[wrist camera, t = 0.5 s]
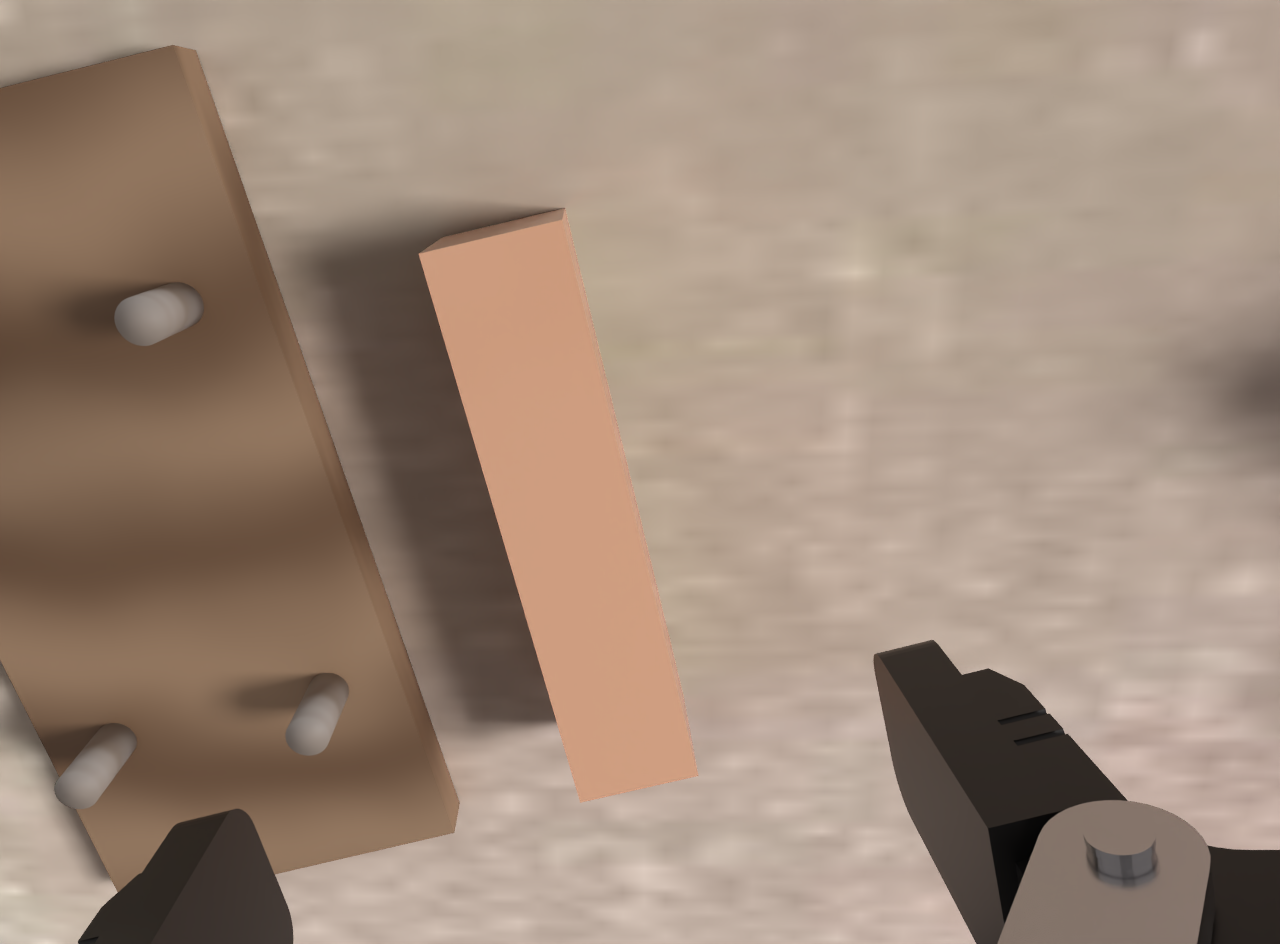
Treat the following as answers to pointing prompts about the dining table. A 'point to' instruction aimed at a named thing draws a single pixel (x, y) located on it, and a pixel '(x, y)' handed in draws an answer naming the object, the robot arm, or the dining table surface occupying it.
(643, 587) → the clay strip
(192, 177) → the rack
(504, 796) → the dining table surface
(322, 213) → the dining table surface
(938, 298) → the dining table surface
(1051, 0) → the dining table surface
